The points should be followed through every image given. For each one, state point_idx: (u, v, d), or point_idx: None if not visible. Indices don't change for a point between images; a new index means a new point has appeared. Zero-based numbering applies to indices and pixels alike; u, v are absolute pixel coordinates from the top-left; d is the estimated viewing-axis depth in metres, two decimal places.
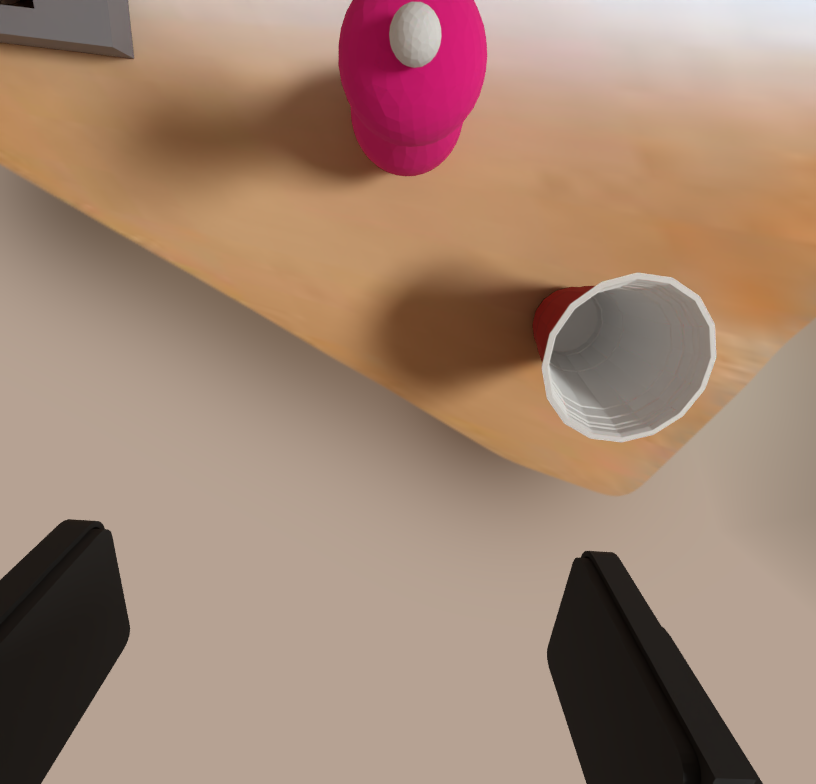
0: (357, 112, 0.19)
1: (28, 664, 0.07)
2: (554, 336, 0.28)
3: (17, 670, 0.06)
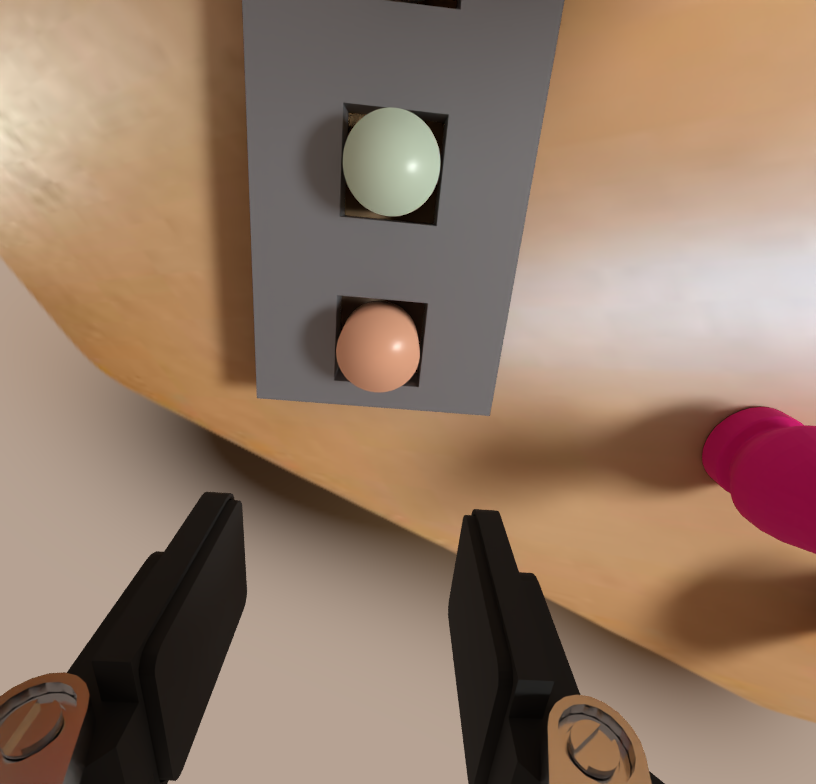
0: None
1: (202, 610, 0.08)
2: None
3: (197, 613, 0.08)
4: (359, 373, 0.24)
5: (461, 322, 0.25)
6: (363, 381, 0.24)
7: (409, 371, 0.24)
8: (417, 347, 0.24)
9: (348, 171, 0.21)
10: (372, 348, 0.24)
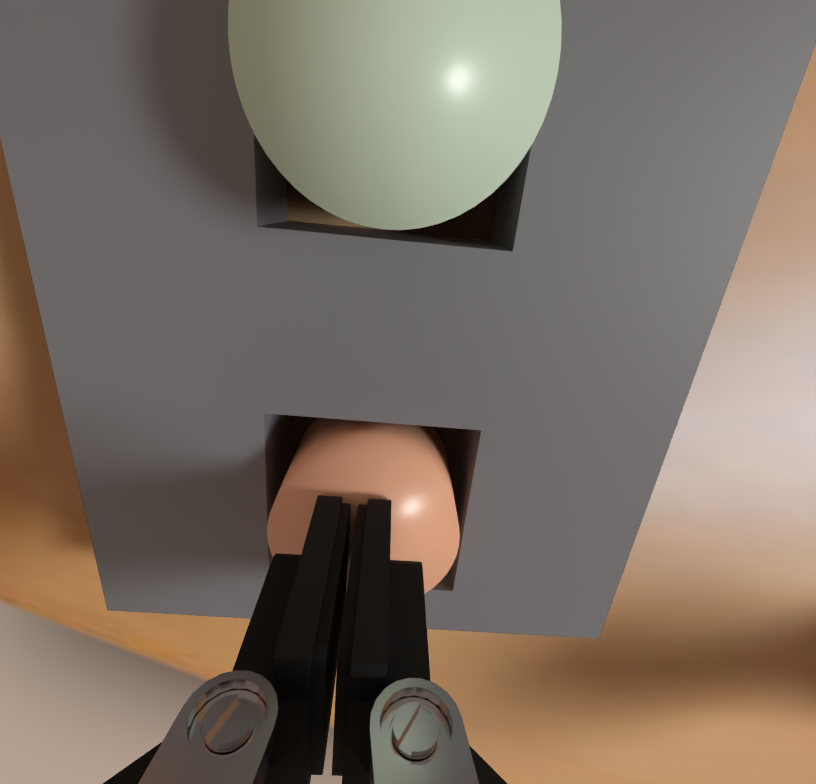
0: None
1: (337, 610, 0.08)
2: None
3: (336, 613, 0.08)
4: None
5: (556, 470, 0.11)
6: None
7: (433, 572, 0.11)
8: (454, 527, 0.10)
9: (251, 81, 0.06)
10: (352, 529, 0.10)
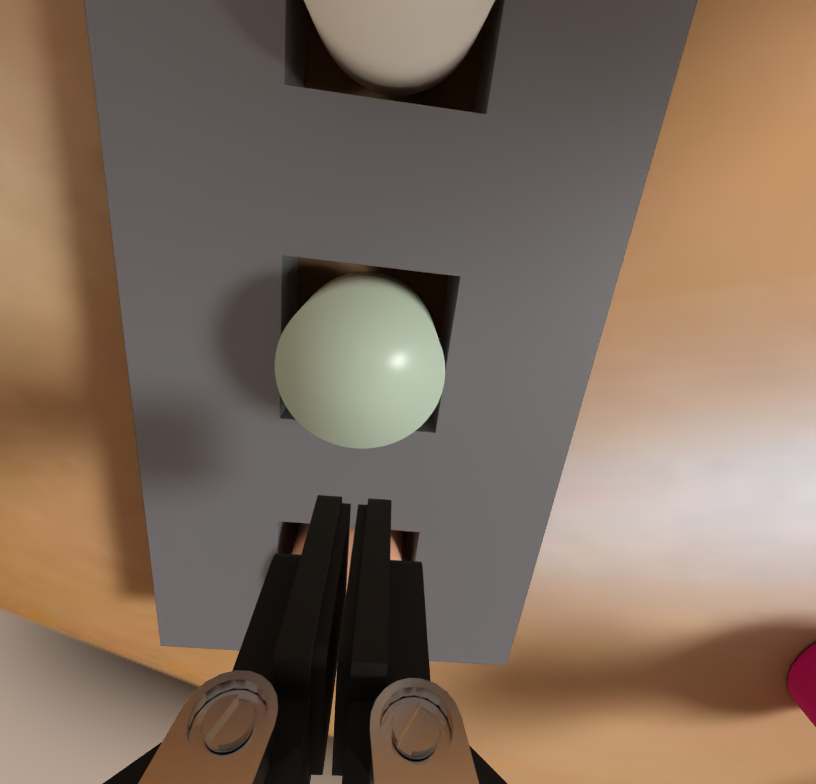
0: None
1: (337, 610, 0.08)
2: None
3: (336, 613, 0.08)
4: None
5: (470, 556, 0.17)
6: None
7: None
8: None
9: (285, 383, 0.12)
10: None
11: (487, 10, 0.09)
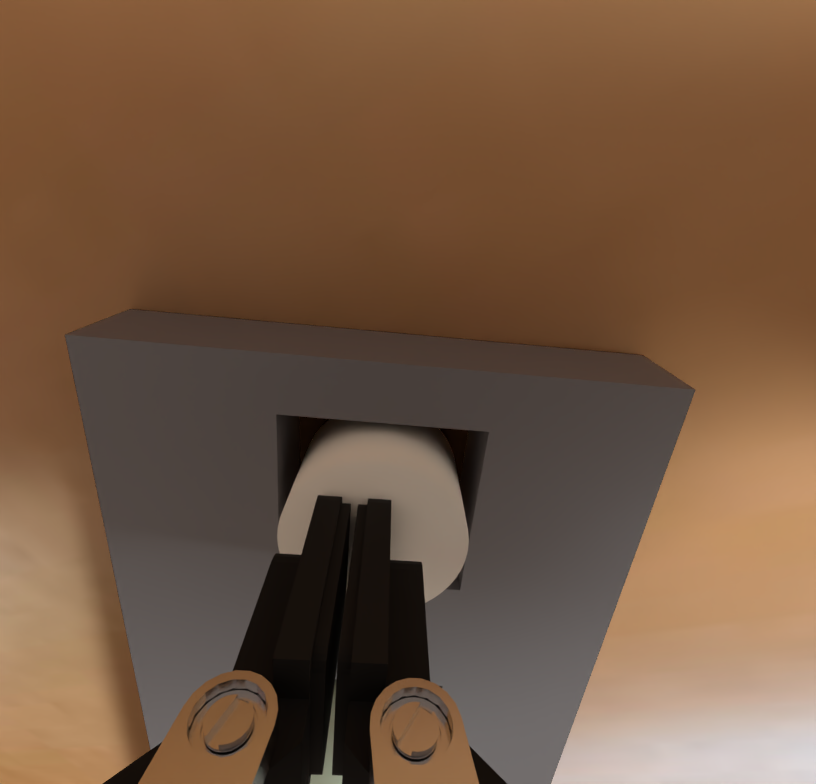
0: None
1: (337, 610, 0.08)
2: None
3: (336, 613, 0.08)
4: None
5: None
6: None
7: None
8: None
9: None
10: None
11: (448, 582, 0.11)
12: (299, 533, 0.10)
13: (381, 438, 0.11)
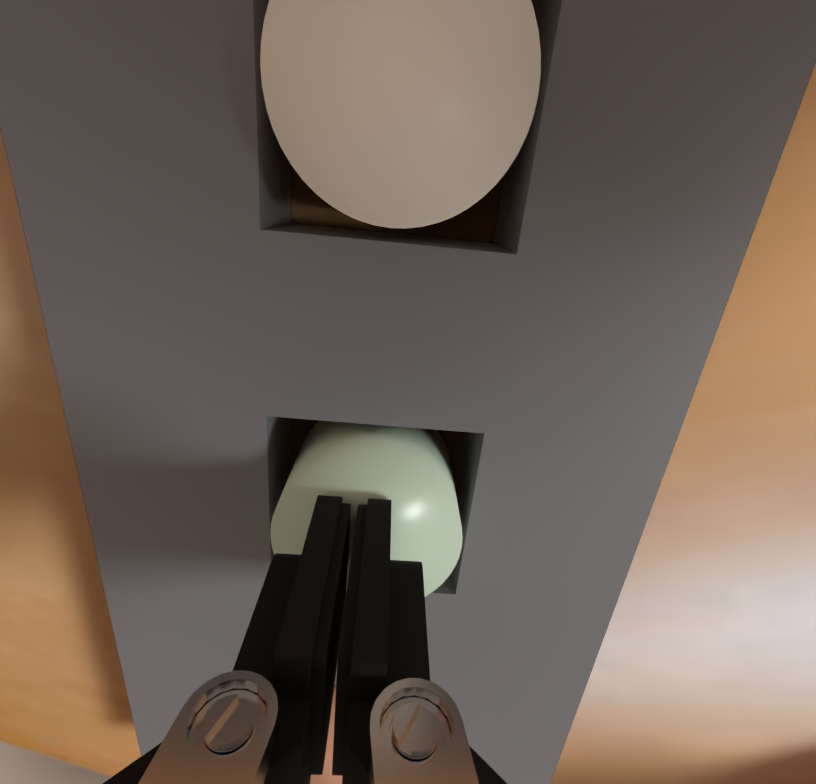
0: None
1: (337, 610, 0.08)
2: None
3: (336, 613, 0.08)
4: None
5: (497, 713, 0.14)
6: None
7: None
8: None
9: (283, 551, 0.11)
10: None
11: (505, 170, 0.08)
12: (293, 53, 0.07)
13: None
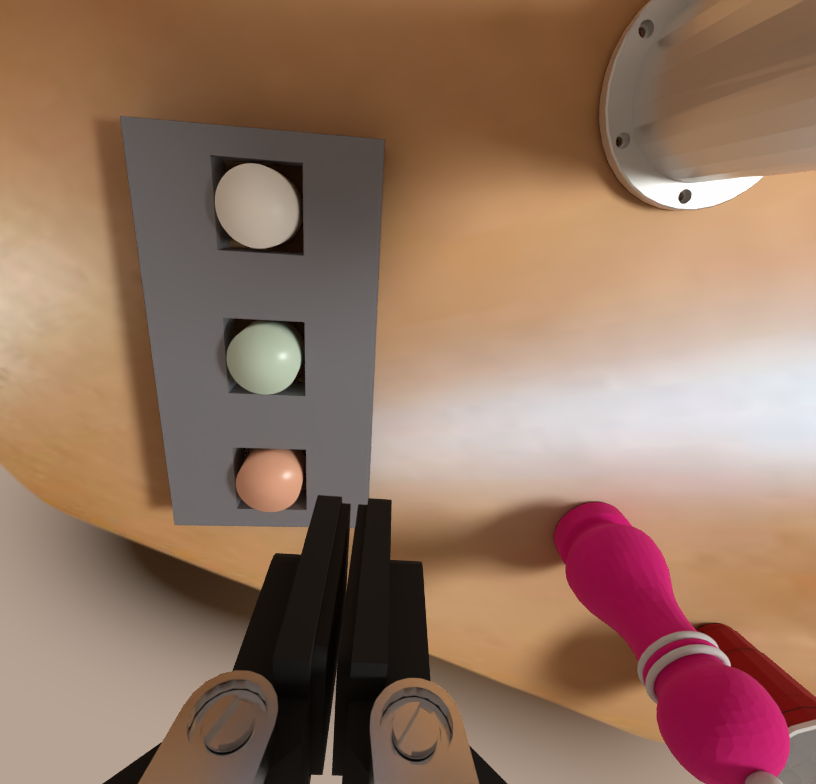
0: (678, 760, 0.24)
1: (337, 610, 0.08)
2: None
3: (336, 613, 0.08)
4: (255, 499, 0.32)
5: (334, 461, 0.32)
6: (259, 505, 0.32)
7: (293, 496, 0.32)
8: (297, 479, 0.32)
9: (231, 367, 0.28)
10: (263, 482, 0.31)
11: (290, 230, 0.26)
12: (224, 201, 0.25)
13: None
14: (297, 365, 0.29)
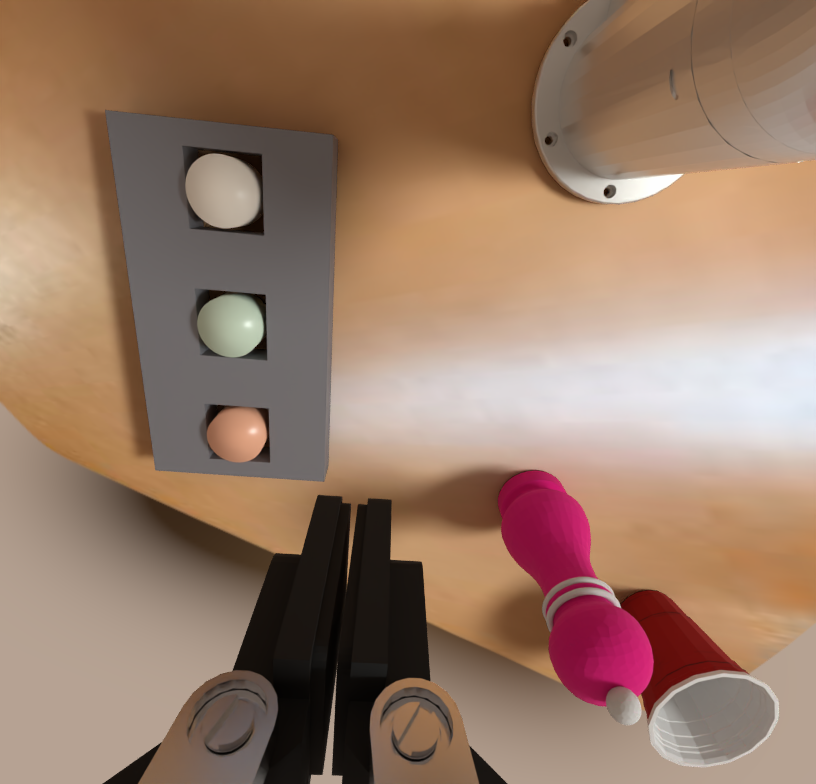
0: (562, 681, 0.28)
1: (337, 610, 0.08)
2: (659, 708, 0.37)
3: (336, 613, 0.08)
4: (224, 450, 0.36)
5: (294, 420, 0.36)
6: (227, 455, 0.37)
7: (257, 449, 0.36)
8: (260, 434, 0.36)
9: (201, 332, 0.33)
10: (231, 435, 0.36)
11: (251, 213, 0.30)
12: (193, 186, 0.29)
13: None
14: (258, 332, 0.33)
